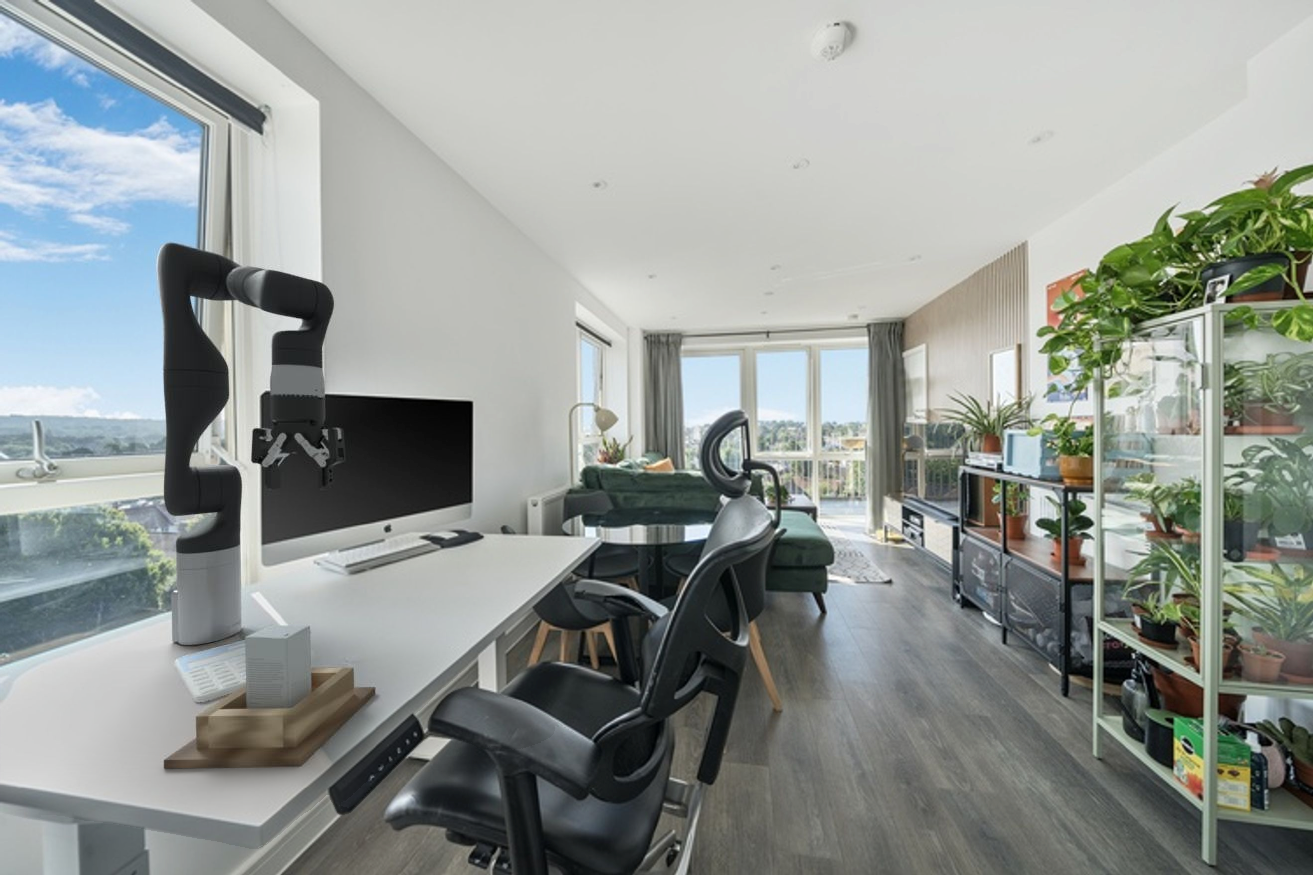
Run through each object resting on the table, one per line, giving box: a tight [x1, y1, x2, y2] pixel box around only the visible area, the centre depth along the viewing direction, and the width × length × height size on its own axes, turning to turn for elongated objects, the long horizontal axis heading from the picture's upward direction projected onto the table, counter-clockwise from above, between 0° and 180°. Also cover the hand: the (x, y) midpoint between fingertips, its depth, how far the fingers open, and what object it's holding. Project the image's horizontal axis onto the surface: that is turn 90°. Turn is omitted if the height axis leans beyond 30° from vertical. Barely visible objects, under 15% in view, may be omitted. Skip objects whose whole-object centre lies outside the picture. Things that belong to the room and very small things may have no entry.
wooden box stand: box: [163, 667, 376, 769], centre depth 66 cm, size 16×16×5 cm
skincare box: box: [244, 624, 312, 709], centre depth 66 cm, size 6×4×12 cm
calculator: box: [174, 639, 246, 703], centre depth 82 cm, size 13×20×2 cm, turn 52°
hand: (299, 488), depth 83 cm, fingers open, 8 cm apart
